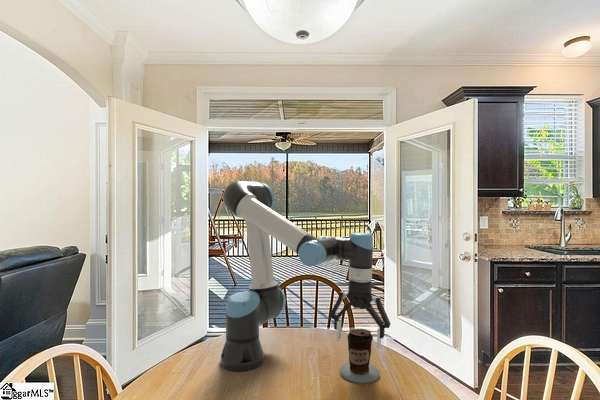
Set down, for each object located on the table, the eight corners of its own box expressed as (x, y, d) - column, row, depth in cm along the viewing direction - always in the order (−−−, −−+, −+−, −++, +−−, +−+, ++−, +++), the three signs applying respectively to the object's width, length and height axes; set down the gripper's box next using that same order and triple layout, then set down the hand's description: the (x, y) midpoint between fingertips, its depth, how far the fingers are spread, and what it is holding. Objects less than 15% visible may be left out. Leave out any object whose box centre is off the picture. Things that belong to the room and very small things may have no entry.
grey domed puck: (334, 378, 113) (334, 375, 113) (346, 361, 125) (346, 358, 125) (374, 387, 107) (374, 384, 107) (382, 368, 119) (383, 366, 119)
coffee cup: (372, 378, 111) (373, 338, 111) (346, 375, 113) (346, 335, 112) (372, 365, 119) (372, 328, 119) (347, 363, 121) (348, 326, 121)
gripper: (321, 277, 117) (319, 340, 118) (397, 287, 107) (394, 355, 108) (328, 273, 124) (326, 332, 125) (400, 282, 114) (398, 346, 114)
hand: (358, 343), depth 116 cm, fingers open, 13 cm apart
